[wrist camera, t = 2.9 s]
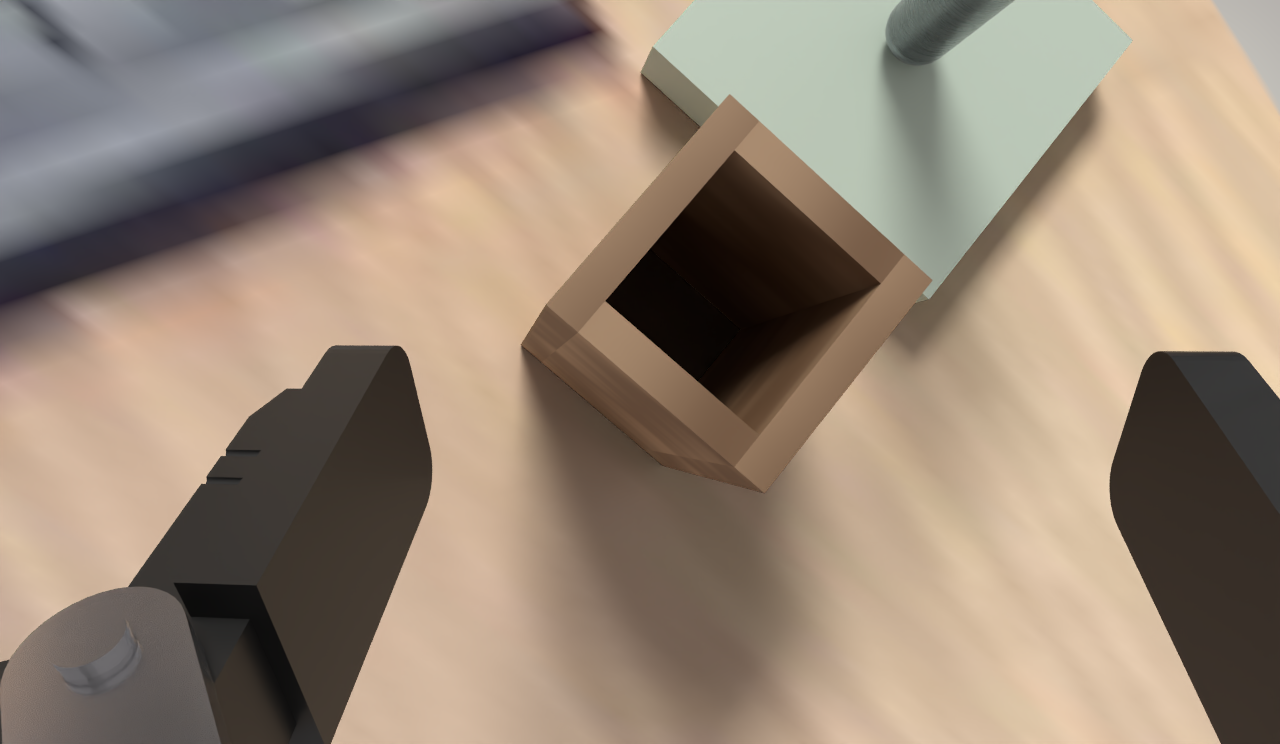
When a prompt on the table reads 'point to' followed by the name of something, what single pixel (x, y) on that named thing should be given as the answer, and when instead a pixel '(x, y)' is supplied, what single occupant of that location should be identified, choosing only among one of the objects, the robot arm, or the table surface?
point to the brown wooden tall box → (733, 305)
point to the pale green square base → (896, 103)
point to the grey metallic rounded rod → (935, 26)
